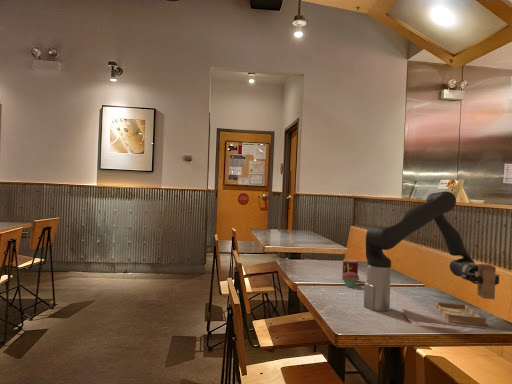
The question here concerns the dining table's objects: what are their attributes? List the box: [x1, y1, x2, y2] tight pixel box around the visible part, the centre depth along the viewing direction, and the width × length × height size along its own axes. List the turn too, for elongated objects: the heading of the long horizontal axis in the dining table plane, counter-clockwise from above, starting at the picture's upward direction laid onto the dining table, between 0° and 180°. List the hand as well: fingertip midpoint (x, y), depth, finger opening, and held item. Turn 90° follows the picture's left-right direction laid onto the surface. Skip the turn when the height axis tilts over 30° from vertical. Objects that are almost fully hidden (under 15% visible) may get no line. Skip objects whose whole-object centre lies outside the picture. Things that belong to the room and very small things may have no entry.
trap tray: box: [434, 301, 487, 330], centre depth 148 cm, size 22×12×4 cm, turn 167°
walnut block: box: [477, 263, 497, 300], centre depth 148 cm, size 6×4×12 cm, turn 167°
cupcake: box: [341, 263, 360, 288], centre depth 196 cm, size 9×8×12 cm
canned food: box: [342, 258, 359, 281], centre depth 210 cm, size 8×8×11 cm
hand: (489, 281), depth 145 cm, fingers closed on walnut block, 4 cm apart
